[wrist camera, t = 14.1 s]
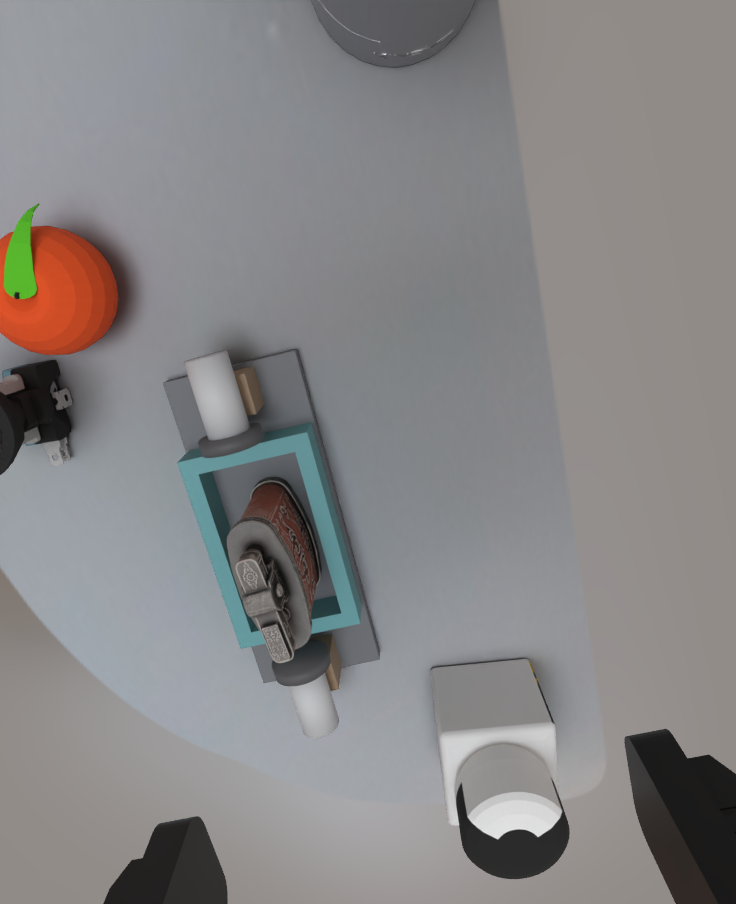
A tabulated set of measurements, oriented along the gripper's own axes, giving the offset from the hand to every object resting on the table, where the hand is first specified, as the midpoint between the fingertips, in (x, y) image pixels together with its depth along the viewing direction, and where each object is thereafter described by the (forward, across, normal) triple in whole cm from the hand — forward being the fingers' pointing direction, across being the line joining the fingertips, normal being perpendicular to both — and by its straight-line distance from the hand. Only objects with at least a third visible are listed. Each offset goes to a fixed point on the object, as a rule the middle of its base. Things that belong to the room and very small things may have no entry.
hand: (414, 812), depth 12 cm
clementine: (+30, +16, -13) cm, 37 cm away
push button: (+30, +20, -6) cm, 37 cm away
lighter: (+29, +8, +5) cm, 31 cm away
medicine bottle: (+30, -2, +22) cm, 37 cm away
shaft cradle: (+30, +8, +5) cm, 32 cm away
